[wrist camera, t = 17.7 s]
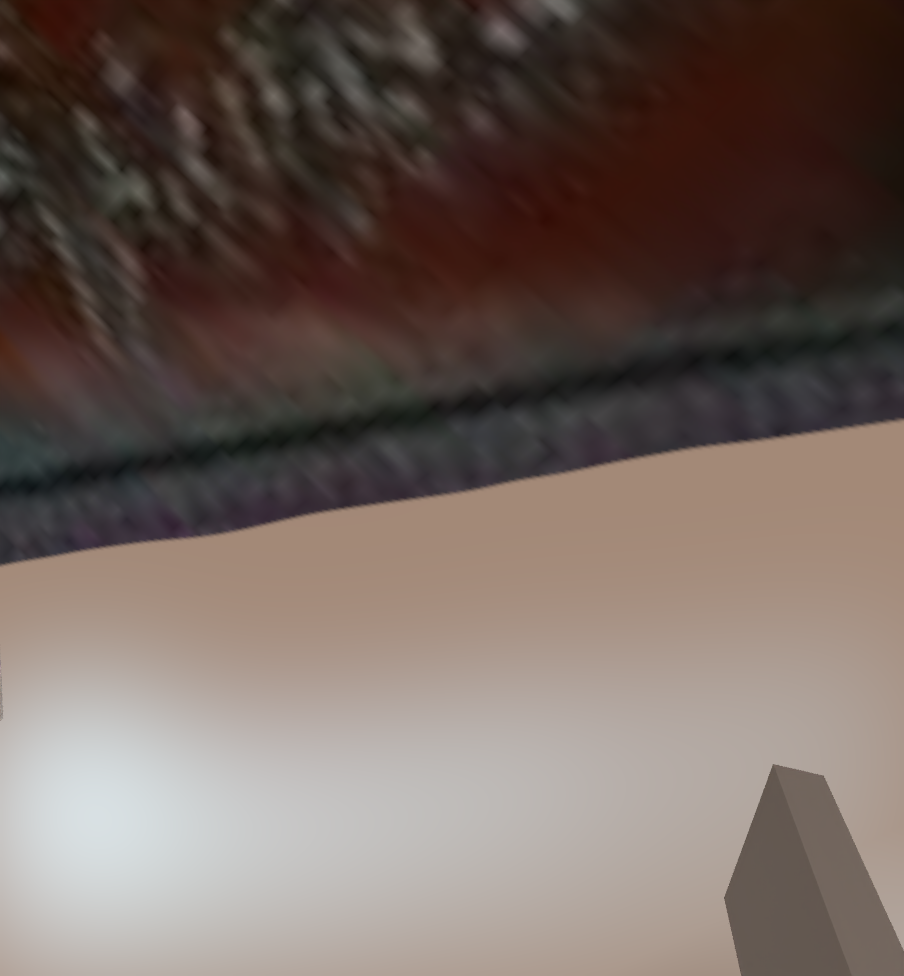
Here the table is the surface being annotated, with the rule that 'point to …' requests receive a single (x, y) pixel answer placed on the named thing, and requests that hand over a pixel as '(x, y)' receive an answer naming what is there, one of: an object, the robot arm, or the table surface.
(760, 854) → the robot arm
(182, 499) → the table surface
